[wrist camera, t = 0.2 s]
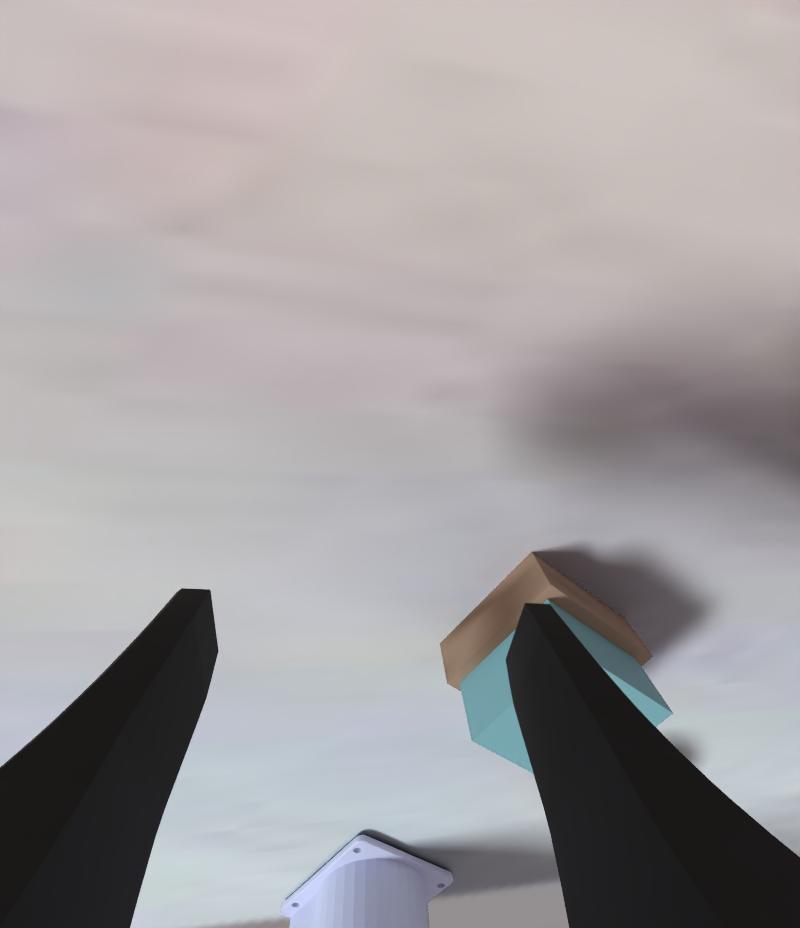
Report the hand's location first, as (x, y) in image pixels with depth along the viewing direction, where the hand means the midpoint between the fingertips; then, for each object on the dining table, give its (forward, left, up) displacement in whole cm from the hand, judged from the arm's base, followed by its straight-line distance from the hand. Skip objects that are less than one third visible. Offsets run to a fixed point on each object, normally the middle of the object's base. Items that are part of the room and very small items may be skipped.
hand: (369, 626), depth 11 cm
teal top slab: (-3, -13, -8) cm, 15 cm away
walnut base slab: (-3, -13, -11) cm, 17 cm away
